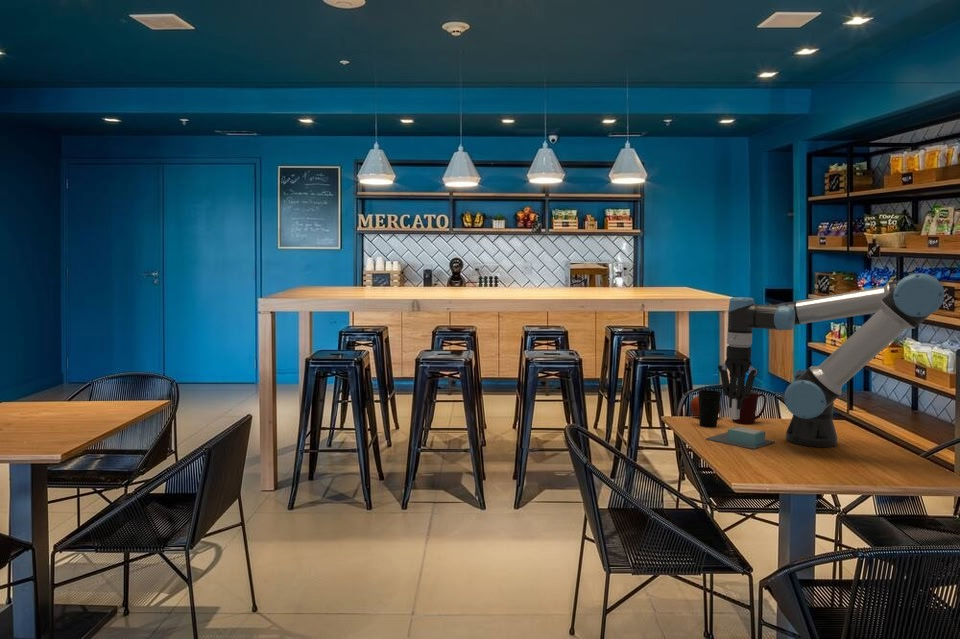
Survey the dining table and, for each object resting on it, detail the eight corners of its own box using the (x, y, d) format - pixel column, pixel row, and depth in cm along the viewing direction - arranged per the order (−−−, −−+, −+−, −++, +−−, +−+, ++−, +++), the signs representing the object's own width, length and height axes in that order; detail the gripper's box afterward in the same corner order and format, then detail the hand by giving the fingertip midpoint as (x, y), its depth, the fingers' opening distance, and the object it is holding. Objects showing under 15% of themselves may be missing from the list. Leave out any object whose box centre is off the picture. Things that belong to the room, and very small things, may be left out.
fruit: (720, 415, 273) (721, 394, 272) (720, 421, 263) (721, 399, 262) (690, 413, 276) (691, 392, 275) (689, 419, 266) (690, 397, 265)
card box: (728, 428, 233) (755, 434, 226) (738, 425, 237) (765, 431, 231) (727, 440, 233) (754, 445, 226) (738, 437, 238) (764, 442, 231)
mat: (727, 433, 245) (727, 432, 245) (774, 442, 233) (774, 441, 233) (706, 439, 235) (706, 438, 235) (753, 449, 223) (753, 448, 223)
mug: (760, 420, 267) (761, 390, 266) (769, 425, 258) (770, 394, 257) (726, 419, 267) (728, 389, 266) (734, 424, 258) (736, 393, 257)
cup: (721, 425, 257) (723, 391, 256) (717, 429, 250) (719, 394, 249) (698, 422, 260) (700, 389, 259) (694, 426, 254) (696, 392, 253)
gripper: (714, 344, 235) (710, 416, 237) (753, 348, 226) (749, 424, 228) (726, 343, 240) (722, 413, 242) (764, 347, 231) (760, 420, 233)
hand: (735, 418), depth 235 cm, fingers closed
